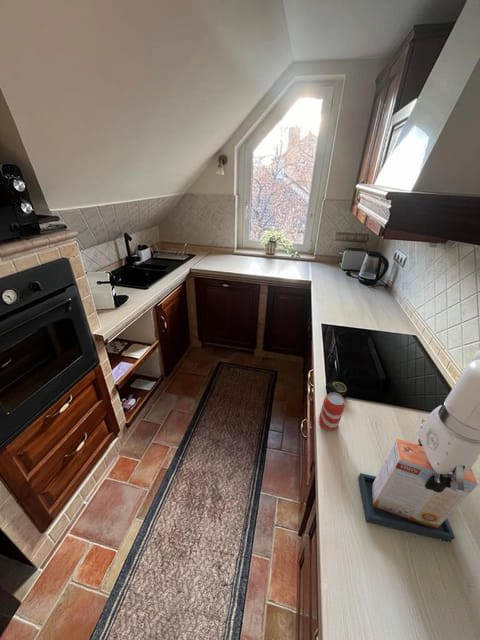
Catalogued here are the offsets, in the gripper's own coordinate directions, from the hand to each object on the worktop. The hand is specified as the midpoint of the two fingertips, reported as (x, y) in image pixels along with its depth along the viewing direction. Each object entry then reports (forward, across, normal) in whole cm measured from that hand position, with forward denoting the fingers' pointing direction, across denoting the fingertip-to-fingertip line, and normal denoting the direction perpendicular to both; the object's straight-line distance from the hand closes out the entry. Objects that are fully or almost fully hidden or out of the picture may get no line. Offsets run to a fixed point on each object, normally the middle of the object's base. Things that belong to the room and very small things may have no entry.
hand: (426, 471), depth 57 cm
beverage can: (+17, -22, -16) cm, 32 cm away
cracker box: (+16, 0, 0) cm, 16 cm away
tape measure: (+17, -36, -12) cm, 42 cm away
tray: (+17, 0, 0) cm, 17 cm away
